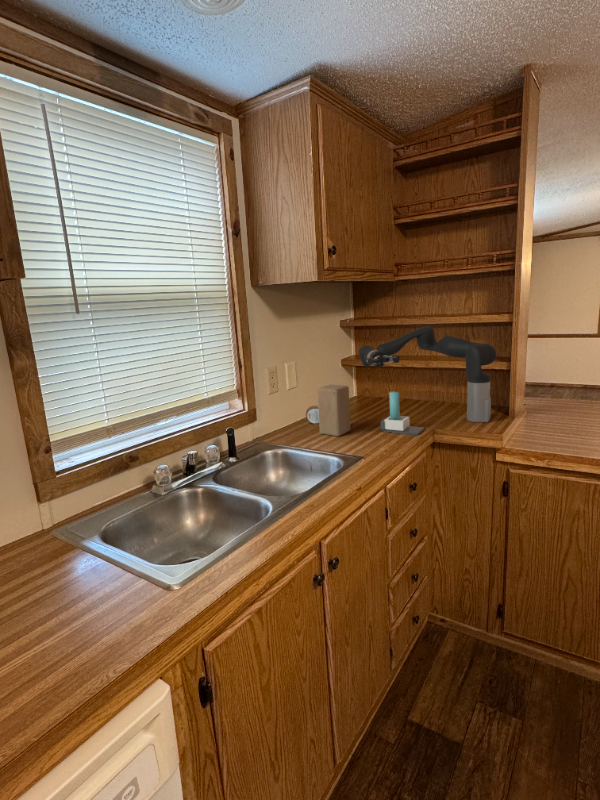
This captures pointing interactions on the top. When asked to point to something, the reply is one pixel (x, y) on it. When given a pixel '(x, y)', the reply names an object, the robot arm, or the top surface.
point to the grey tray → (410, 430)
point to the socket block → (397, 423)
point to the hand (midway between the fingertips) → (387, 361)
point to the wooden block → (334, 410)
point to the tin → (313, 414)
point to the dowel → (394, 406)
